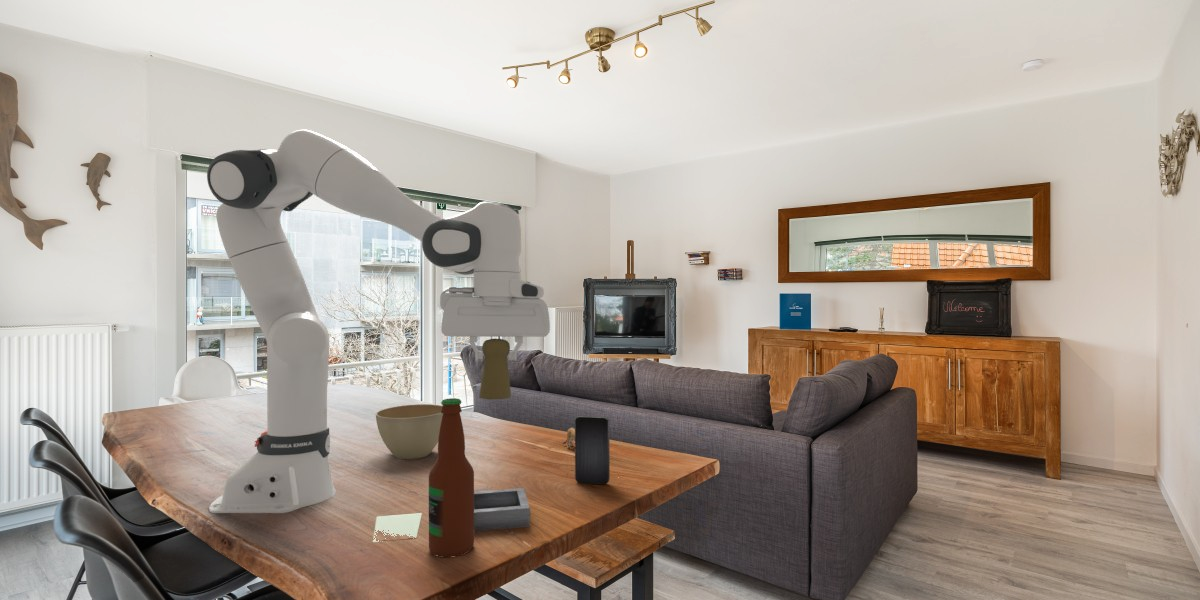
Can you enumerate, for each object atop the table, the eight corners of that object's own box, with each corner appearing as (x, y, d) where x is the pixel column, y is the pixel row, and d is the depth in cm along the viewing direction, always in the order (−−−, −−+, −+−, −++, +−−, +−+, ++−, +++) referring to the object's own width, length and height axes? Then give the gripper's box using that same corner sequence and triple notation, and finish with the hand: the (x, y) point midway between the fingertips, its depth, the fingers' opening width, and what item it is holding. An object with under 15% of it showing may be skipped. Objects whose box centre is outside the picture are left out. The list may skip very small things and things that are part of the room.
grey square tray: (465, 532, 101) (465, 513, 101) (466, 509, 112) (466, 492, 112) (529, 527, 104) (529, 507, 104) (524, 505, 115) (523, 487, 115)
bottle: (444, 538, 99) (444, 395, 99) (482, 543, 97) (481, 397, 97) (419, 556, 92) (419, 402, 92) (459, 562, 90) (459, 404, 90)
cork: (504, 400, 104) (505, 340, 104) (473, 398, 105) (474, 339, 106) (515, 395, 110) (516, 338, 110) (486, 393, 111) (487, 337, 111)
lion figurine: (596, 451, 155) (596, 425, 155) (585, 454, 152) (585, 427, 152) (568, 443, 163) (568, 418, 163) (556, 446, 160) (556, 420, 160)
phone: (609, 483, 128) (609, 417, 128) (608, 485, 127) (608, 418, 127) (575, 481, 130) (575, 415, 130) (574, 482, 129) (574, 416, 129)
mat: (341, 547, 95) (341, 545, 95) (355, 520, 107) (355, 518, 107) (416, 540, 98) (416, 538, 98) (422, 514, 110) (422, 512, 110)
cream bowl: (386, 448, 159) (386, 405, 159) (452, 446, 161) (451, 403, 161) (367, 467, 141) (366, 418, 141) (441, 464, 143) (441, 416, 143)
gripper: (439, 286, 103) (438, 362, 102) (551, 288, 107) (550, 361, 107) (441, 287, 109) (440, 359, 109) (547, 289, 113) (546, 358, 113)
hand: (495, 360), depth 108 cm, fingers closed on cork, 5 cm apart
